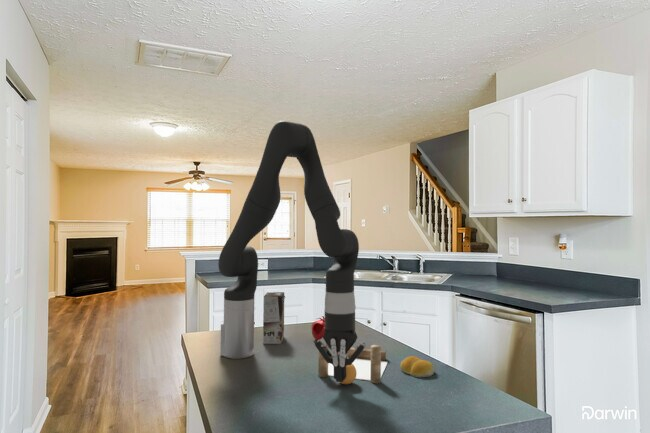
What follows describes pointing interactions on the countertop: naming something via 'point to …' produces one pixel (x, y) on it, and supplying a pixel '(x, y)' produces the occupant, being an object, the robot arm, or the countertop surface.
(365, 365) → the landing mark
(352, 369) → the ball
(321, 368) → the post
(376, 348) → the post
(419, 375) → the bread roll
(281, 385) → the countertop surface
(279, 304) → the coffee box
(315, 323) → the pomegranate
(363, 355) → the stopper rail
